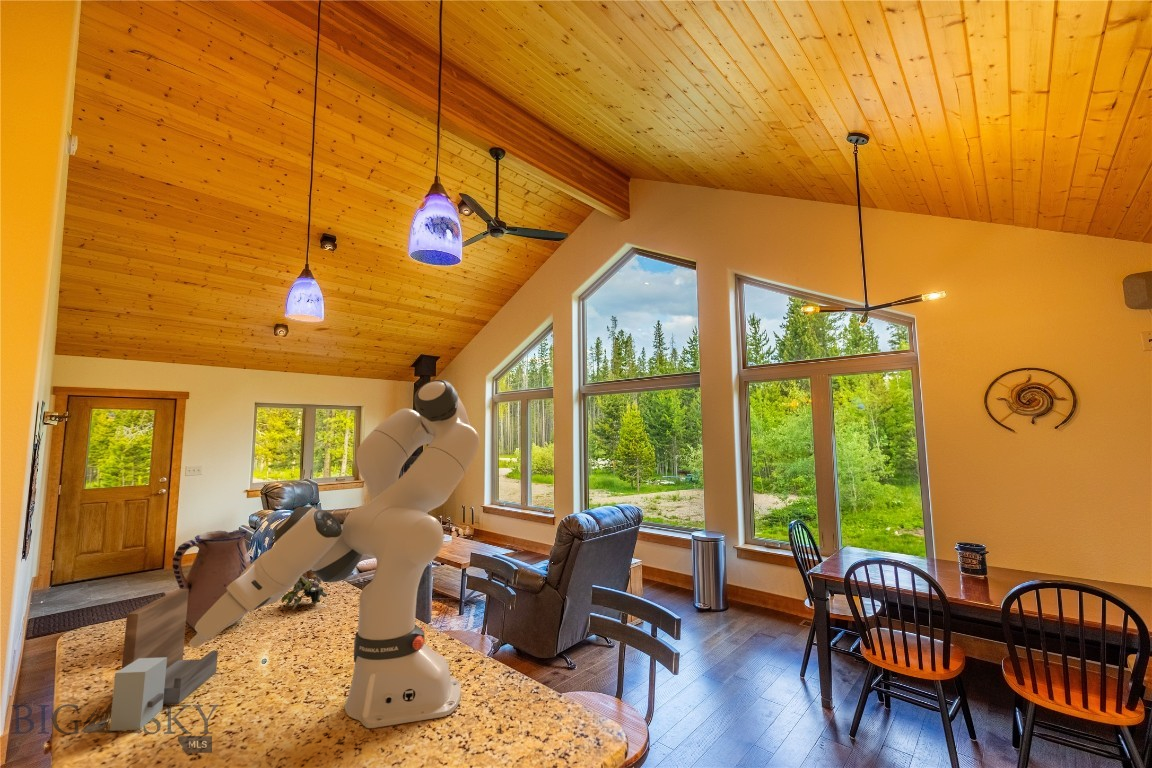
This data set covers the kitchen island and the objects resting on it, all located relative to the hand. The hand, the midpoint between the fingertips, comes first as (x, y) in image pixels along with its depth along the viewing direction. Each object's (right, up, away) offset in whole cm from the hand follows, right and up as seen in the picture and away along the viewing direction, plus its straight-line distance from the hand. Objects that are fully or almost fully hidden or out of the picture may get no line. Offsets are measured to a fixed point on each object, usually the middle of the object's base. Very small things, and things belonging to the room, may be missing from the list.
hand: (208, 633), depth 97 cm
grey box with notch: (-11, -15, -3) cm, 19 cm away
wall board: (-14, -16, +9) cm, 23 cm away
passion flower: (-14, -21, +58) cm, 63 cm away
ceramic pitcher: (-30, -19, +41) cm, 54 cm away
